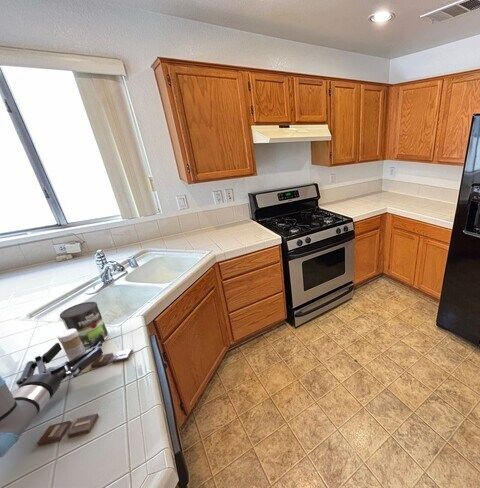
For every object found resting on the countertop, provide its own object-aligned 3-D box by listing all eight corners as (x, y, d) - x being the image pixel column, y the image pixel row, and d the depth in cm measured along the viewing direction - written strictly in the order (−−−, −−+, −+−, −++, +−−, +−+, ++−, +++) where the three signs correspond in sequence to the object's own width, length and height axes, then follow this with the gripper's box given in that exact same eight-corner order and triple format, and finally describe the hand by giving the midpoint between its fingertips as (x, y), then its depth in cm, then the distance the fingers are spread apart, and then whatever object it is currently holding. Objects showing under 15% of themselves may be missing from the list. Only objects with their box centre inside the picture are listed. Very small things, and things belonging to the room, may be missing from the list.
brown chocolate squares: (38, 446, 63) (36, 442, 63) (51, 428, 67) (49, 425, 67) (89, 432, 66) (87, 428, 65) (99, 416, 70) (97, 412, 69)
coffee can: (115, 334, 103) (103, 303, 99) (85, 352, 94) (70, 319, 89) (98, 329, 107) (85, 299, 102) (67, 347, 97) (52, 314, 93)
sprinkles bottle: (75, 364, 89) (60, 331, 84) (92, 358, 90) (78, 326, 86) (71, 373, 85) (54, 339, 80) (89, 367, 87) (73, 334, 82)
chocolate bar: (63, 377, 84) (61, 373, 83) (76, 361, 90) (74, 358, 90) (126, 362, 88) (125, 359, 87) (134, 348, 94) (133, 345, 94)
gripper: (-18, 419, 67) (42, 359, 87) (91, 392, 73) (124, 342, 93) (-33, 397, 65) (32, 341, 85) (82, 371, 71) (117, 324, 90)
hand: (80, 341), depth 89 cm, fingers open, 12 cm apart
